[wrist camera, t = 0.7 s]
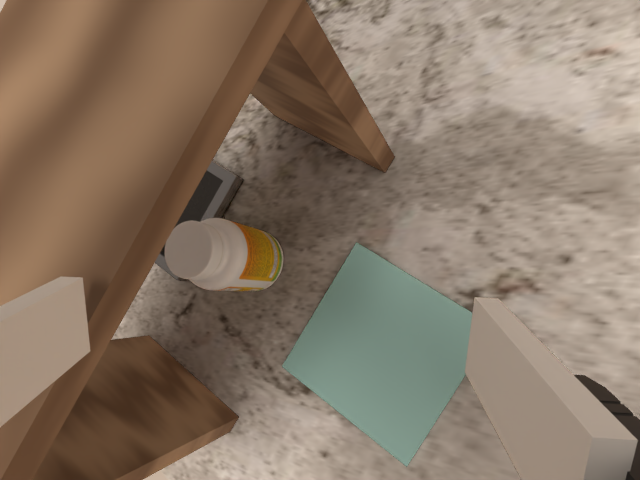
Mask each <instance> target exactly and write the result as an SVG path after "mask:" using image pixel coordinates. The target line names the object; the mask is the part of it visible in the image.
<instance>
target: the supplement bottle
mask: <svg viewBox="0 0 640 480" xmlns="http://www.w3.org/2000/svg"><path fill="white" fill-rule="evenodd" d="M165 260H166V263H167V266H168V268H169V269H170V271H171V272H172V273H173V274H174V275H176V276H178V277H180V278H183V279H189V280H190V281H191V282H192V283H194V284H195V285H196V286H198V287H200V288H203V289H207V290H218V291H260V290H264V289H266V288H268V287H269V286H271V285H272V284H273V283H274V282H275V281H276V280H277V278H278V277H279V275H280V273H281V270H282V267H283V252H282V248H281V246H280V244H279V242H278V241H277V240H276V239H275V238H274V237H273V236H272V235H271V234H269V233H267V232H265V231H262V230H259V229H255V228H252V227H249V226H245V225H242V224H239V223H236V222H233V221H229V220H226V219H222V218H209V219H205V220H203V221H201V222H198V221H185V222H183V223H180V224H179V225H177V226H176V227H175V228H174V229H173V231H172V232H171V234H170V236H169V238H168V239H167V241H166V244H165Z"/></svg>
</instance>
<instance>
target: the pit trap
mask: <svg viewBox="0 0 640 480" xmlns="http://www.w3.org/2000/svg"><path fill="white" fill-rule="evenodd" d="M242 181H243V179H242V178H240V177H239V176H237V175H235V174H234V173H232V172H230V171H229V170H227V169H226V168H224V167H222V166H221V165H219V164H218V163H216V162H214V161H213V160H212V161H211V163H210V165H209V167H208V169H207V170H206V172H205V174H204V176H203V177H202V179H201V181H200V183H199V185H198V186H197V188H196V190H195V192H194V193H193V195H192V197H191V199H190V200H189V202H188V204H187V206H186V208H185V209H184V211H183V213H182V215H181V216H180V218H179V220H178V222H177V223H176V225H175V227H176V226H177V225H179V224H180V223H183V222H185V221H198V222H201V221H203V220H205V219H209V218H222V216H223V214H224V213H225V211H226V209H227V207H228V206H229V204H230V202H231V201H232V199H233V197H234V195H235V194H236V192H237V190H238V188H239V187H240V185H241V183H242ZM175 227H174V228H175ZM165 244H166V243H165ZM155 263H156V264H157V265H159V266H160V267H161V268H162V269H164V270H165V271H166V272H167V273H169V274H170V275H171V276H172V277H174V278H175V279H176V280H180V281H186V279H183V278H180V277H178V276H176V275H174V274H173V273H172V272H171V271H170V269H169V268H168V266H167V263H166V260H165V245H164V247H163V248H162V250H161V252H160V254H159V255H158V257H157V259H156V261H155Z"/></svg>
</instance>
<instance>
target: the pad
mask: <svg viewBox="0 0 640 480" xmlns="http://www.w3.org/2000/svg"><path fill="white" fill-rule="evenodd" d="M471 320H472V312H470V311H468V310H467V309H465V308H464V307H462V306H460V305H459V304H457V303H455V302H454V301H452V300H450V299H449V298H447V297H446V296H444V295H442V294H441V293H439V292H437V291H436V290H434V289H432V288H431V287H429V286H427V285H426V284H424V283H423V282H421V281H419V280H418V279H416V278H414V277H413V276H411V275H409V274H408V273H406V272H405V271H403V270H401V269H400V268H398V267H396V266H395V265H393V264H391V263H390V262H388V261H386V260H385V259H383V258H382V257H380V256H378V255H377V254H375V253H373V252H372V251H370V250H368V249H367V248H365V247H364V246H362V245H360V244H359V243H357V242H356V244H355V246H354V247H353V249H352V251H351V252H350V254H349V256H348V257H347V259H346V261H345V262H344V264H343V266H342V267H341V269H340V271H339V272H338V274H337V276H336V277H335V279H334V280H333V282H332V284H331V285H330V287H329V289H328V290H327V292H326V294H325V295H324V297H323V299H322V300H321V302H320V304H319V305H318V307H317V309H316V310H315V312H314V314H313V315H312V317H311V319H310V320H309V322H308V324H307V325H306V327H305V329H304V330H303V332H302V334H301V335H300V337H299V339H298V340H297V342H296V344H295V345H294V347H293V349H292V350H291V352H290V354H289V355H288V357H287V359H286V360H285V362H284V364H283V365H282V367H283V368H284V369H286V370H287V371H288V372H289V373H291V374H292V375H293V376H294V377H296V378H297V379H298V380H299V381H300V382H302V383H303V384H304V385H305V386H307V387H308V388H309V389H310V390H312V391H313V392H314V393H315V394H317V395H318V396H319V397H320V398H322V399H323V400H324V401H325V402H327V403H328V404H329V405H330V406H332V407H333V408H334V409H335V410H337V411H338V412H339V413H340V414H342V415H343V416H344V417H345V418H347V419H348V420H349V421H350V422H352V423H353V424H354V425H355V426H356V427H358V428H359V429H360V430H361V431H363V432H364V433H365V434H366V435H368V436H369V437H370V438H371V439H373V440H374V441H375V442H376V443H378V444H379V445H380V446H381V447H383V448H384V449H385V450H386V451H388V452H389V453H390V454H391V455H393V456H394V457H395V458H396V459H398V460H399V461H400V462H401V463H403V464H404V465H405V466H406V467H407V466H408V464H409V463H410V461H411V460H412V458H413V457H414V455H415V453H416V452H417V450H418V449H419V447H420V446H421V444H422V442H423V441H424V439H425V438H426V436H427V435H428V433H429V432H430V430H431V428H432V427H433V425H434V424H435V422H436V421H437V419H438V417H439V416H440V414H441V413H442V411H443V410H444V408H445V406H446V405H447V403H448V402H449V400H450V399H451V397H452V396H453V394H454V392H455V391H456V389H457V388H458V386H459V385H460V383H461V381H462V380H463V378H464V377H465V375H466V374H465V366H466V359H467V351H468V343H469V336H470V328H471Z"/></svg>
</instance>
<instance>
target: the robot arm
mask: <svg viewBox="0 0 640 480" xmlns="http://www.w3.org/2000/svg"><path fill="white" fill-rule="evenodd" d="M89 352H90V342H89V333H88V323H87V314H86V304H85V295H84V285H83V278H81V277H59V278H57V279H55V280H53V281H51V282H49V283H46V284H44V285H42V286H40V287H38V288H36V289H34V290H32V291H30V292H28V293H26V294H24V295H22V296H20V297H18V298H16V299H14V300H12V301H10V302H8V303H6V304H4V305H2V306H0V427H1V426H2V425H4V424H5V423H6V422H7V421H8V420H9V419H11V418H12V417H13V416H14V415H15V414H17V413H18V412H19V411H20V410H21V409H22V408H24V407H25V406H26V405H27V404H28V403H30V402H31V401H32V400H33V399H34V398H36V397H37V396H38V395H39V394H40V393H41V392H43V391H44V390H45V389H46V388H47V387H49V386H50V385H51V384H52V383H53V382H54V381H56V380H57V379H58V378H59V377H60V376H62V375H63V374H64V373H65V372H66V371H67V370H69V369H70V368H71V367H72V366H73V365H75V364H76V363H77V362H78V361H79V360H80V359H82V358H83V357H84V356H85V355H86V354H88V353H89ZM465 374H466V376H467V378H468V380H469V382H470V383H471V385H472V387H473V389H474V391H475V393H476V395H477V397H478V399H479V400H480V402H481V404H482V406H483V408H484V410H485V412H486V414H487V416H488V417H489V419H490V421H491V423H492V425H493V427H494V429H495V431H496V433H497V434H498V436H499V438H500V440H501V442H502V444H503V446H504V448H505V450H506V452H507V453H508V455H509V457H510V459H511V461H512V463H513V465H514V467H515V469H516V470H517V472H518V474H519V476H520V478H521V480H640V420H639V419H638V418H637V417H636V416H633V413H632V412H631V411H630V410H629V409H628V408H626V407H625V406H624V405H623V404H620V401H619V400H618V399H617V398H616V397H615V396H614V395H613V394H612V393H611V392H609V391H608V390H607V389H606V388H605V387H603V386H602V385H600V384H598V383H597V382H595V381H593V380H591V379H590V378H588V377H586V376H585V375H573V374H572V373H571V372H570V371H569V370H568V369H567V368H566V367H565V366H564V365H563V364H562V363H561V362H560V361H559V360H558V359H557V358H556V357H555V356H554V355H553V353H552V352H551V351H550V350H549V349H548V348H547V347H546V346H545V345H544V344H543V343H542V342H541V341H540V340H539V339H538V338H537V337H536V336H535V335H534V334H533V333H532V332H531V331H530V330H529V329H528V328H527V327H526V326H525V325H524V324H523V323H522V322H521V321H520V320H519V319H518V318H517V317H516V316H515V315H514V314H513V313H512V312H511V311H510V310H509V309H508V308H507V307H506V306H505V305H504V304H503V303H502V302H501V301H500V300H499V299H498V298H482V297H474V305H473V313H472V320H471V328H470V336H469V343H468V351H467V359H466V366H465Z"/></svg>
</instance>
